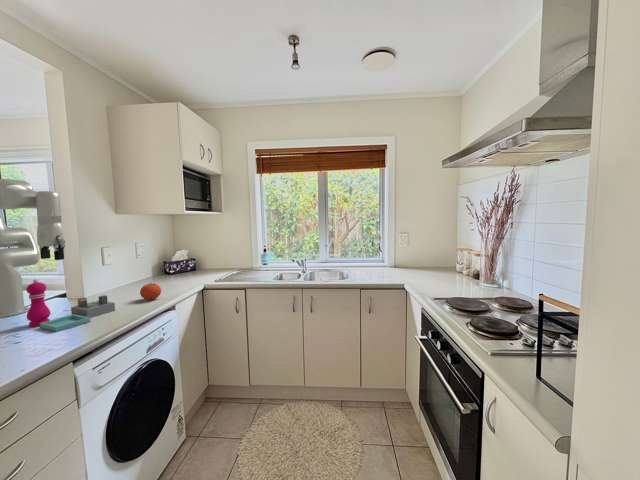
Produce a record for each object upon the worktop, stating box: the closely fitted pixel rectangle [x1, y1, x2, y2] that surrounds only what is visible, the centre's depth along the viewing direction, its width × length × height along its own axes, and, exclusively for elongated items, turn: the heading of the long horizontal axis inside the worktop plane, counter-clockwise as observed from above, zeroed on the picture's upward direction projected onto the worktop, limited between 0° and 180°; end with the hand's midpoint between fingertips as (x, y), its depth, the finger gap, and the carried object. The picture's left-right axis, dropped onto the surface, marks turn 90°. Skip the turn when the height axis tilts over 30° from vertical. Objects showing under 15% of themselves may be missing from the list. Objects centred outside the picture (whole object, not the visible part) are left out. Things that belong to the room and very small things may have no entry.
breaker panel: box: [70, 299, 116, 319], centre depth 135 cm, size 12×12×4 cm
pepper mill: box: [26, 278, 51, 328], centre depth 119 cm, size 7×7×20 cm
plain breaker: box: [98, 294, 109, 304], centre depth 136 cm, size 2×2×4 cm
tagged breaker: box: [77, 297, 88, 307], centre depth 132 cm, size 3×2×4 cm
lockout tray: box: [39, 314, 91, 333], centre depth 119 cm, size 12×12×2 cm
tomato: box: [139, 281, 162, 301], centre depth 157 cm, size 10×10×10 cm
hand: (52, 259), depth 122 cm, fingers open, 9 cm apart
